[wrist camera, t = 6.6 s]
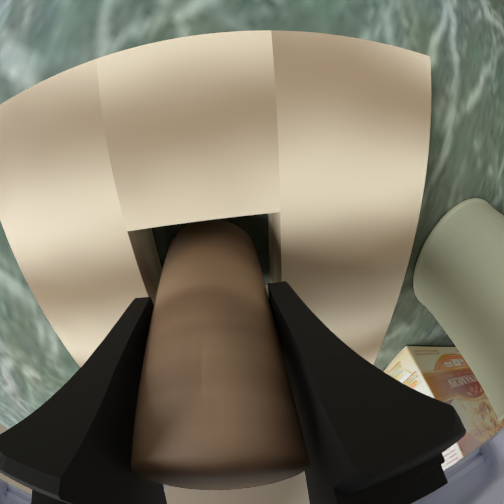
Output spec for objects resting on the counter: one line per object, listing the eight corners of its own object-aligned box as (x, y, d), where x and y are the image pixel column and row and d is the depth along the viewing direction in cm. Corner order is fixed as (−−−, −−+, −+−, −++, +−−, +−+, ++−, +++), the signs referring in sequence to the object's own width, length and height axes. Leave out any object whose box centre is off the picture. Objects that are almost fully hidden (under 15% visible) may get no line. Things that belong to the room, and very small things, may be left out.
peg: (258, 291, 13) (300, 480, 6) (176, 299, 13) (163, 489, 6) (255, 214, 11) (324, 439, 4) (158, 224, 11) (97, 448, 3)
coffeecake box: (471, 345, 25) (536, 459, 8) (436, 381, 28) (488, 492, 11) (406, 342, 21) (492, 525, 4) (361, 389, 24) (418, 552, 7)
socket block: (355, 338, 19) (370, 369, 16) (113, 365, 18) (106, 398, 15) (389, 59, 9) (429, 56, 7) (15, 110, 8) (-23, 120, 6)
